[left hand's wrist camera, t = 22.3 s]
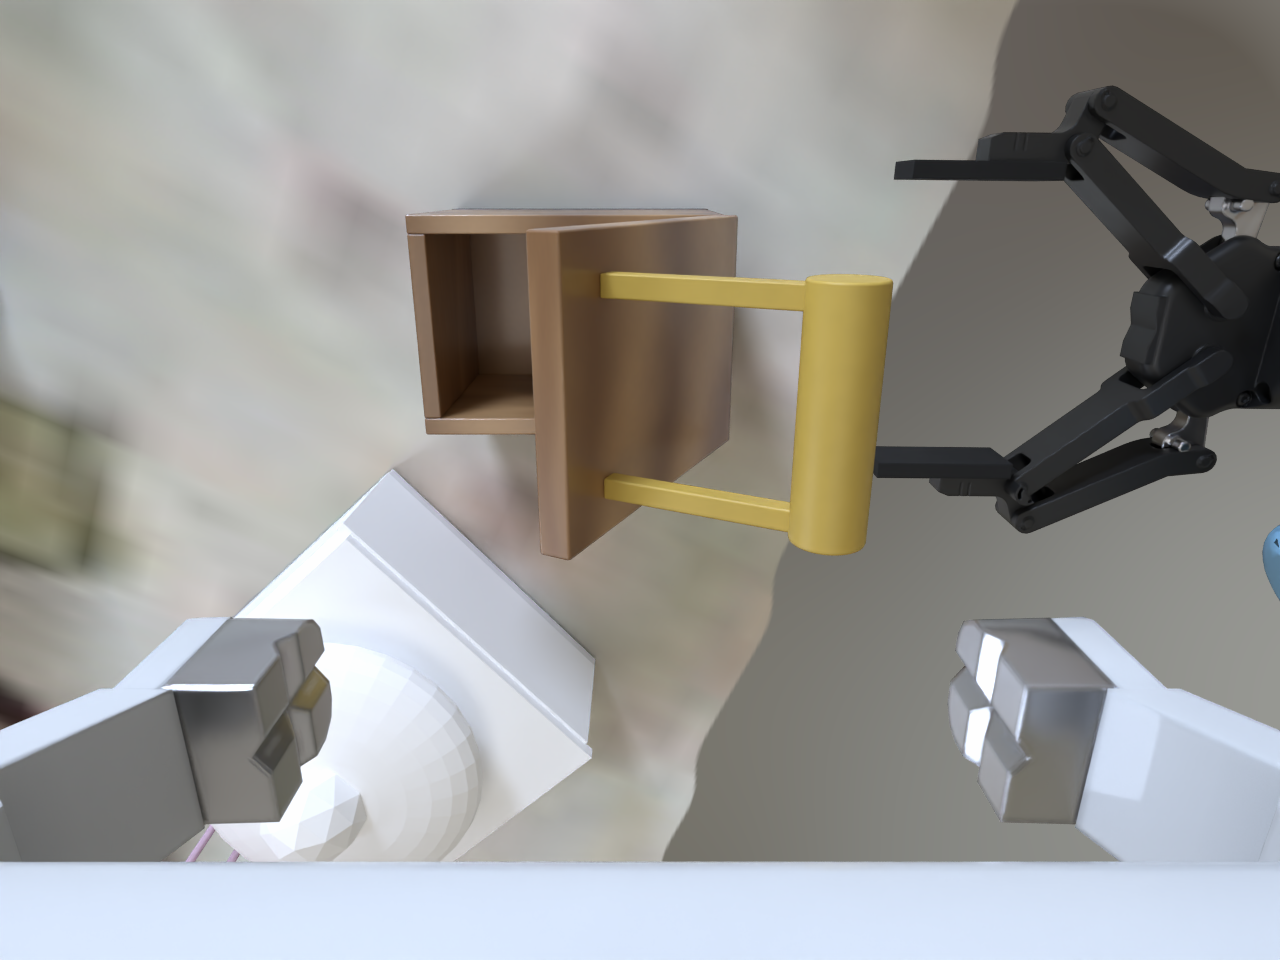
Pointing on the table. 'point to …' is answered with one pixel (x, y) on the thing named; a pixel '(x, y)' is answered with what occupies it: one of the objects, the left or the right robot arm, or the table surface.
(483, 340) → the chest
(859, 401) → the lid
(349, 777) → the butter dish
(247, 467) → the table surface
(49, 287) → the table surface
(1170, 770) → the left robot arm
